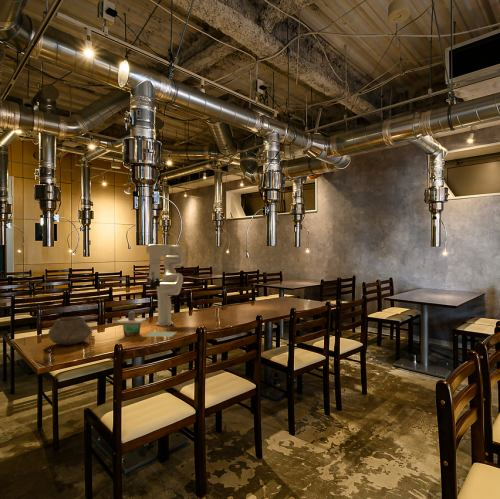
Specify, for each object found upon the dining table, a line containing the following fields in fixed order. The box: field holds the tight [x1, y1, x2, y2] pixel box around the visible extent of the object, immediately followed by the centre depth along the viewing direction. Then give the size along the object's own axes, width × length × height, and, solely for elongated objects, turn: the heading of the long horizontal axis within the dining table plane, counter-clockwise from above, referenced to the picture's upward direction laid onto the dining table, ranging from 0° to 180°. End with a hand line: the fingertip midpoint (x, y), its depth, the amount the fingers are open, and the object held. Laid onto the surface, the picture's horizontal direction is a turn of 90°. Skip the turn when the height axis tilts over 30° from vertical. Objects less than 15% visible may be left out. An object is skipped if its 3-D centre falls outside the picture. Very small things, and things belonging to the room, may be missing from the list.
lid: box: [116, 310, 147, 324], centre depth 211 cm, size 10×15×6 cm, turn 88°
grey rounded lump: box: [47, 316, 92, 346], centre depth 195 cm, size 22×21×15 cm
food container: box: [121, 322, 143, 337], centre depth 211 cm, size 12×6×10 cm, turn 105°
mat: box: [146, 331, 177, 338], centre depth 215 cm, size 13×17×1 cm
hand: (155, 287), depth 226 cm, fingers open, 9 cm apart
